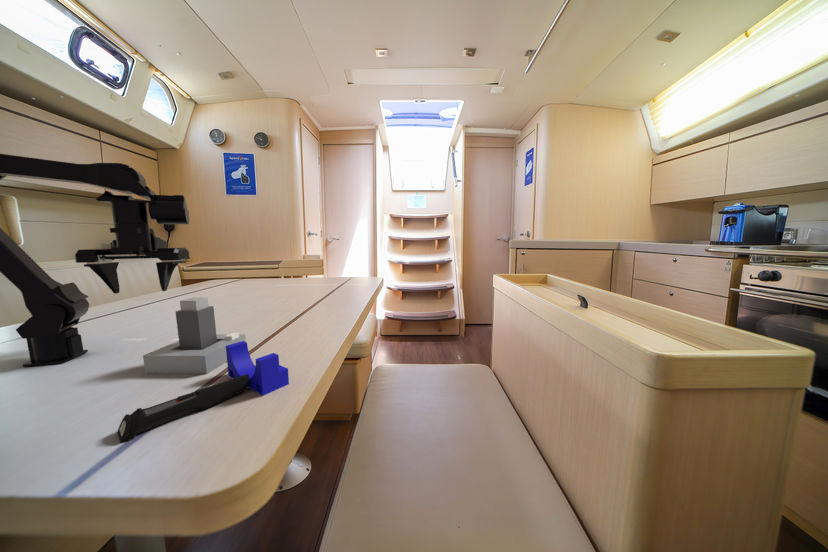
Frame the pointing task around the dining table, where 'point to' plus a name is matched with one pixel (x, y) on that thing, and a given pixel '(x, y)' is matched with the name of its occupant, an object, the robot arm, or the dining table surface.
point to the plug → (196, 324)
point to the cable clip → (256, 369)
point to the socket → (190, 357)
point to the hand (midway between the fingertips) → (141, 292)
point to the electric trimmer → (179, 407)
